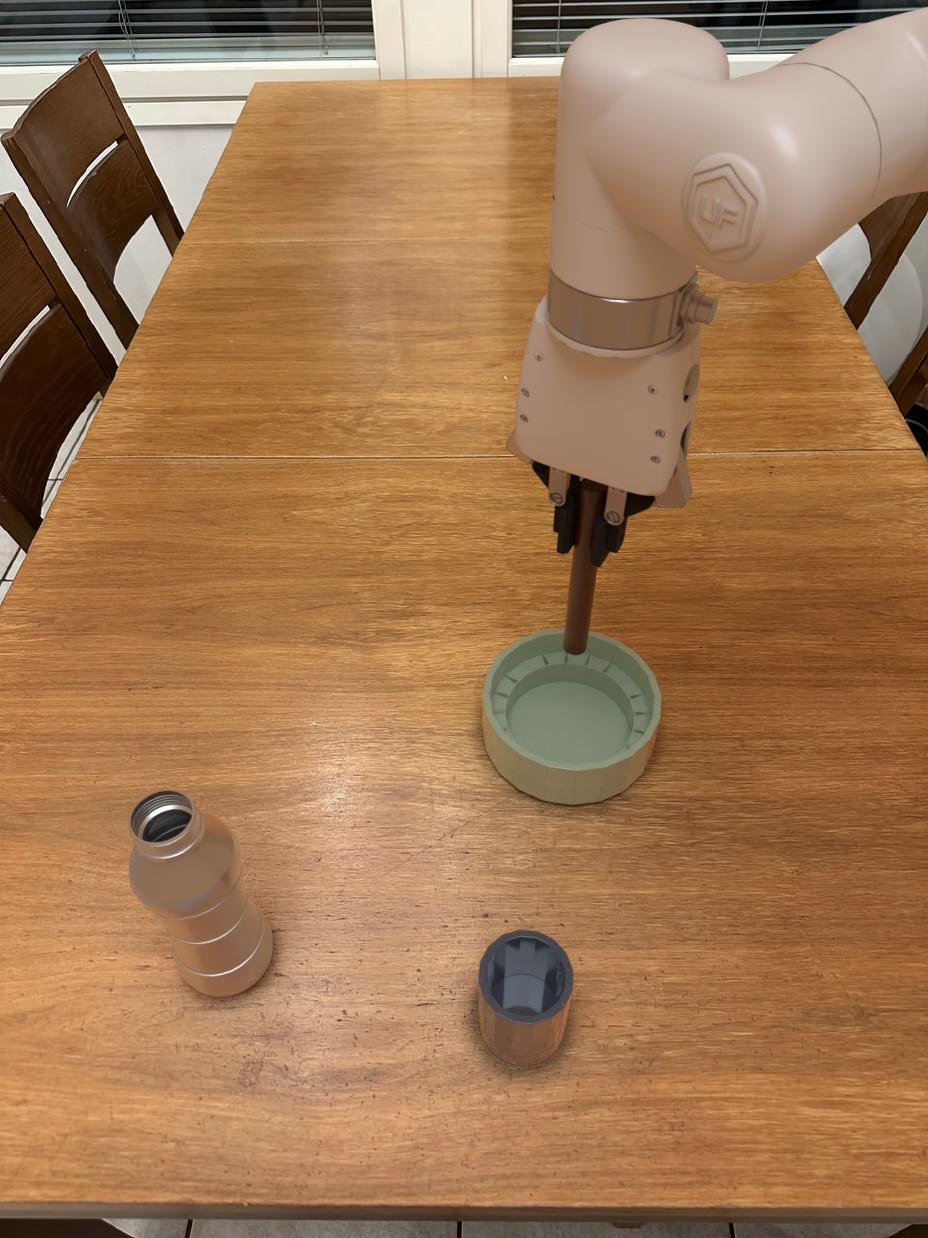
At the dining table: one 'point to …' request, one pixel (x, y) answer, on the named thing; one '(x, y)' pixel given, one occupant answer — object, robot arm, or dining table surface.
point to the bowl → (570, 717)
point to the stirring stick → (583, 567)
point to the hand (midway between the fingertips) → (587, 545)
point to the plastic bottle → (198, 893)
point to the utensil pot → (524, 996)
